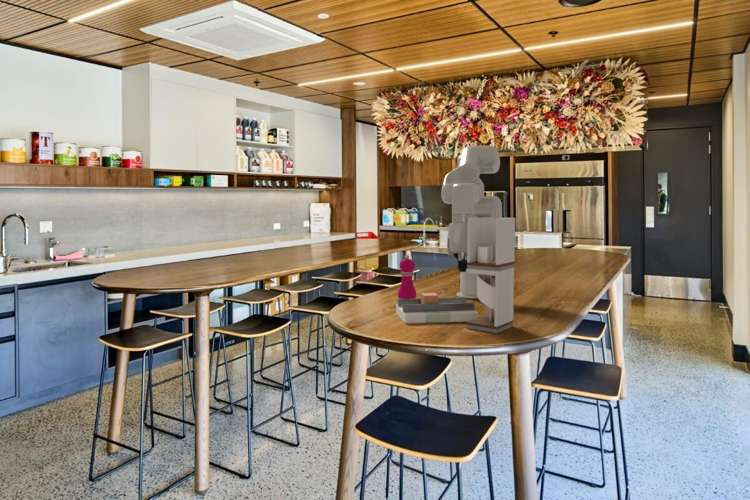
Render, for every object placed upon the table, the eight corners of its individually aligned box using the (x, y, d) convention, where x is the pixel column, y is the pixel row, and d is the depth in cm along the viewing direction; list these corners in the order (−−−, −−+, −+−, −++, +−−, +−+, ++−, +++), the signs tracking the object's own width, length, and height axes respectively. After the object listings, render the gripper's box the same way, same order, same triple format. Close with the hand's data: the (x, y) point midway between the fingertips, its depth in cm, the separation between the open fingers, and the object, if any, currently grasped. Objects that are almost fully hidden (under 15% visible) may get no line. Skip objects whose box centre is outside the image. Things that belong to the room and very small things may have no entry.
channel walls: (465, 303, 193) (465, 297, 193) (474, 310, 182) (475, 303, 182) (397, 305, 190) (397, 298, 190) (403, 312, 179) (403, 305, 179)
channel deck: (462, 310, 197) (462, 302, 197) (477, 321, 179) (478, 312, 179) (395, 312, 194) (396, 304, 194) (404, 323, 176) (405, 314, 176)
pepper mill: (409, 308, 199) (409, 256, 198) (393, 306, 204) (393, 254, 202) (420, 305, 205) (420, 254, 203) (404, 303, 210) (404, 253, 208)
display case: (483, 321, 178) (485, 217, 175) (513, 326, 171) (515, 218, 168) (466, 328, 169) (467, 218, 166) (496, 333, 163) (499, 219, 159)
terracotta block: (434, 306, 188) (434, 292, 188) (438, 309, 183) (438, 295, 183) (420, 307, 188) (420, 293, 187) (424, 310, 183) (424, 295, 182)
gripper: (480, 218, 189) (479, 269, 192) (439, 219, 187) (439, 270, 190) (487, 219, 182) (486, 272, 184) (444, 220, 180) (444, 274, 182)
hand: (462, 271), depth 187 cm, fingers closed
